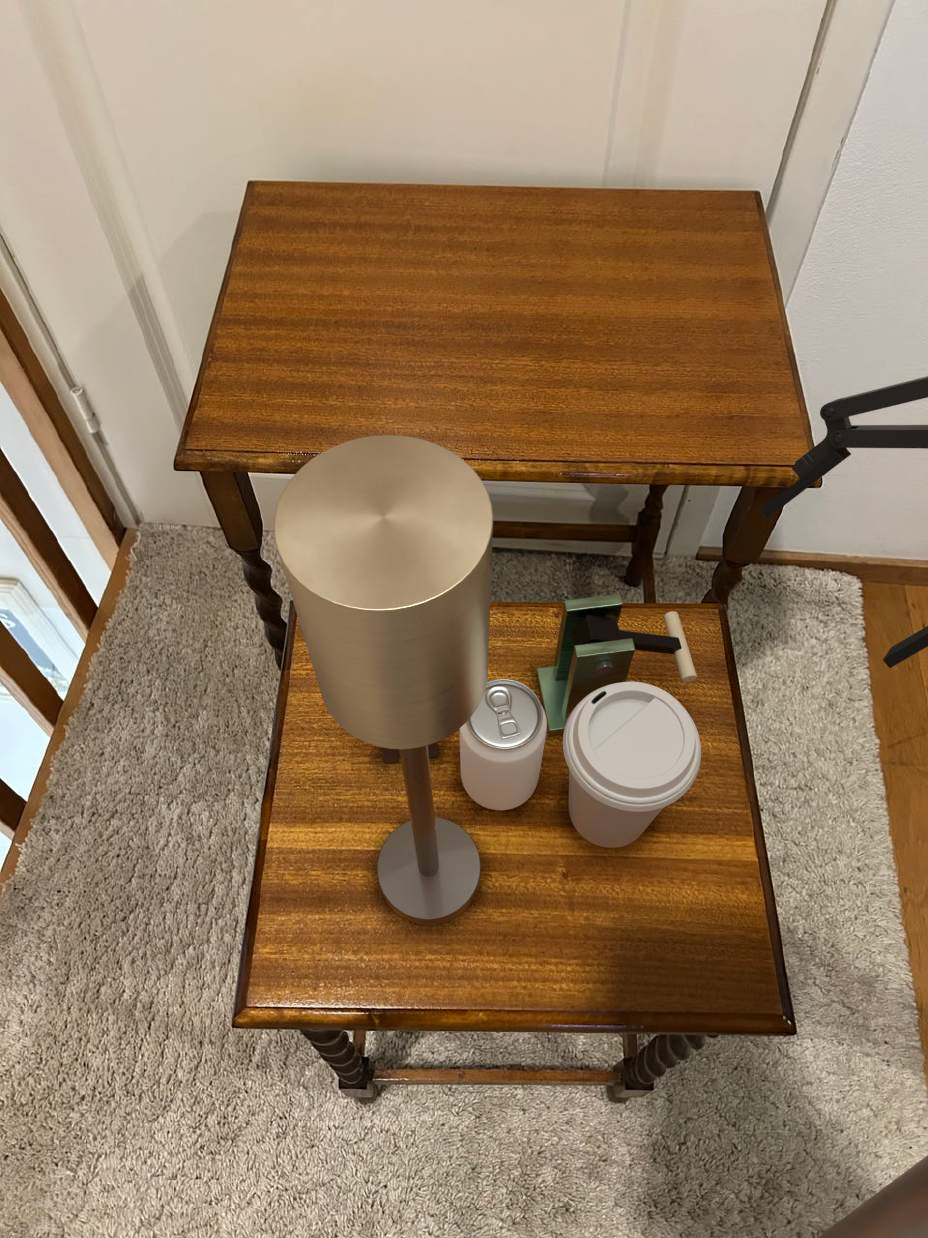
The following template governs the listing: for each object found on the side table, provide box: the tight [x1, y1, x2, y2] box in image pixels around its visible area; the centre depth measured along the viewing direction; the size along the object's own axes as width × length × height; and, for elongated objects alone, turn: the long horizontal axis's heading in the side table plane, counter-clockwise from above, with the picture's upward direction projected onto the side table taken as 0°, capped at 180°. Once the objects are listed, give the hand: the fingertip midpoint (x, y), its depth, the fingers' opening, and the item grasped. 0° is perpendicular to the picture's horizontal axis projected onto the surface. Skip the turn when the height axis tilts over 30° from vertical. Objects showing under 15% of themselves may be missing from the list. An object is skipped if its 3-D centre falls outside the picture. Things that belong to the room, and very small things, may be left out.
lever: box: [571, 610, 698, 683], centre depth 73 cm, size 10×6×2 cm, turn 98°
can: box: [459, 678, 547, 811], centre depth 73 cm, size 6×6×12 cm
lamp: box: [273, 434, 494, 927], centre depth 54 cm, size 8×8×46 cm
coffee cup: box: [562, 681, 702, 849], centre depth 70 cm, size 10×10×15 cm
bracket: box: [535, 593, 636, 737], centre depth 76 cm, size 7×6×13 cm
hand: (828, 583), depth 68 cm, fingers open, 13 cm apart
